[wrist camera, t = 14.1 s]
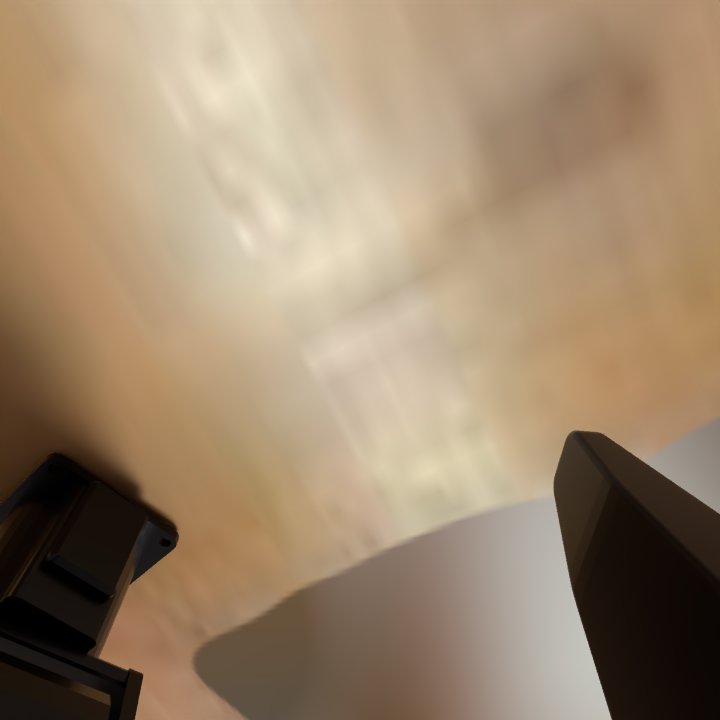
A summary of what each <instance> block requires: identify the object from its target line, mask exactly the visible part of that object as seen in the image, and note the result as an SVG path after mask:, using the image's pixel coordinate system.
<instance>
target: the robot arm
mask: <svg viewBox="0 0 720 720" xmlns="http://www.w3.org/2000/svg"><path fill="white" fill-rule="evenodd" d="M53 464H54V465H57V466H58V467H59V468H57V467H55V466H54V465H53ZM554 496H555V501H556V507H557V512H558V518H559V523H560V529H561V534H562V540H563V545H564V550H565V555H566V561H567V566H568V572H569V577H570V581H571V586H572V590H573V594H574V598H575V601H576V605H577V608H578V612H579V615H580V618H581V621H582V624H583V628H584V631H585V634H586V637H587V641H588V644H589V647H590V650H591V654H592V657H593V660H594V663H595V666H596V670H597V673H598V676H599V679H600V683H601V685H602V689H603V692H604V695H605V698H606V702H607V705H608V709H609V712H610V715H611V718H612V720H720V514H719V513H717V512H716V511H714V510H713V509H711V508H710V507H709V506H707V505H706V504H704V503H703V502H701V501H700V500H698V499H697V498H695V497H694V496H693V495H691V494H690V493H688V492H687V491H685V490H684V489H682V488H681V487H679V486H678V485H676V484H675V483H674V482H672V481H671V480H669V479H667V478H666V477H664V476H663V475H662V474H660V473H659V472H658V471H656V470H655V469H653V468H652V467H650V466H649V465H647V464H646V463H644V462H643V461H642V460H640V459H639V458H637V457H636V456H634V455H633V454H631V453H630V452H628V451H627V450H625V449H624V448H623V447H621V446H620V445H618V444H617V443H615V442H614V441H612V440H611V439H609V438H608V437H607V436H605V435H604V434H602V433H599V432H589V431H572V432H571V433H569V435H568V436H567V438H566V441H565V444H564V447H563V451H562V454H561V457H560V460H559V464H558V467H557V470H556V473H555V477H554ZM164 538H166V539H169V540H166V539H164ZM178 539H179V535H178V533H177V532H176V531H175V530H174V529H173V528H171V527H170V526H168V525H167V524H165V523H164V522H162V521H161V520H159V519H158V518H156V517H155V516H153V515H152V514H150V513H149V512H147V511H146V510H144V509H143V508H141V507H140V506H138V505H137V504H135V503H134V502H132V501H131V500H130V499H128V498H127V497H125V496H124V495H122V494H121V493H119V492H118V491H116V490H115V489H113V488H112V487H110V486H109V485H107V484H106V483H104V482H103V481H101V480H100V479H98V478H97V477H95V476H94V475H92V474H91V473H89V472H88V471H86V470H85V469H83V468H82V467H81V466H79V465H78V464H76V463H75V462H73V461H72V460H70V459H69V458H67V457H66V456H64V455H62V454H57V453H54V454H50V455H49V456H47V457H46V458H45V459H44V460H43V461H42V462H41V463H40V464H39V466H38V467H37V468H36V469H35V470H34V471H33V472H32V473H31V474H30V475H29V476H28V477H27V478H26V479H25V480H24V481H23V482H22V483H21V484H20V485H19V486H18V487H17V488H16V489H15V490H14V491H13V492H12V493H11V494H10V495H9V496H8V497H7V498H6V499H5V500H4V501H3V502H2V503H1V504H0V720H135V715H136V710H137V705H138V700H139V695H140V690H141V685H142V680H143V674H142V673H140V672H137V671H135V670H132V669H129V670H125V669H123V668H121V667H118V666H116V665H113V664H111V663H109V662H106V661H104V660H102V659H99V656H100V654H101V651H102V649H103V647H104V644H105V642H106V639H107V637H108V635H109V632H110V630H111V627H112V625H113V623H114V620H115V618H116V616H117V613H118V611H119V608H120V606H121V604H122V601H123V599H124V596H125V594H126V592H127V589H128V587H129V585H130V584H131V583H133V582H134V581H135V580H136V579H137V578H139V577H140V576H141V575H142V574H144V573H145V572H146V571H147V570H148V569H150V568H151V567H152V566H153V565H155V564H156V563H157V562H158V561H160V560H161V559H162V558H163V557H164V556H166V555H167V554H168V553H169V552H171V551H172V550H173V549H174V548H175V547H176V545H177V542H178Z"/></svg>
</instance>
